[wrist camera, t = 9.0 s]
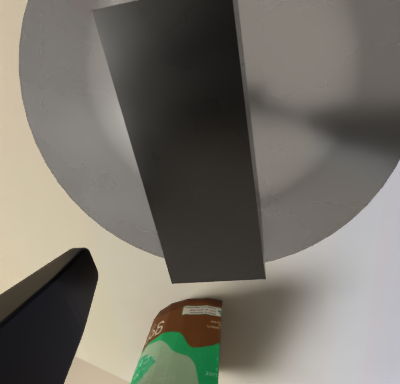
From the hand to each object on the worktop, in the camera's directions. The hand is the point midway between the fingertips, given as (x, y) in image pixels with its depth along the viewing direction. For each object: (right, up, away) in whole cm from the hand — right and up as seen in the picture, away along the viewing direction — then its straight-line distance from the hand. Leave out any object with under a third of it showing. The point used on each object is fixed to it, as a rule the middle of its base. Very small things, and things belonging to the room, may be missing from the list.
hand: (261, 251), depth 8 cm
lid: (-1, +5, +5) cm, 7 cm away
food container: (-4, -10, +21) cm, 24 cm away
